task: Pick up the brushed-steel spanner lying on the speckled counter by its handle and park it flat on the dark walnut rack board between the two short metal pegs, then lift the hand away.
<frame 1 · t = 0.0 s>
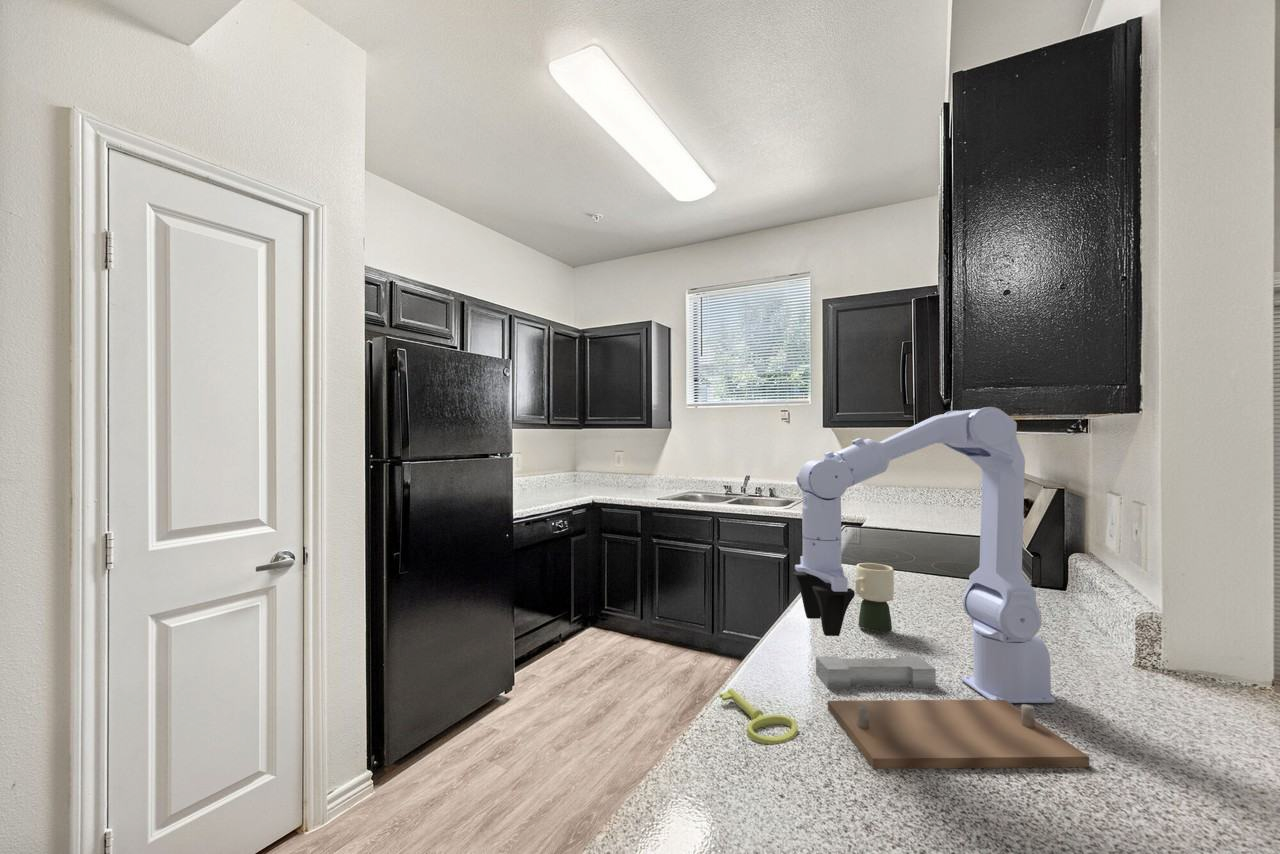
hand: (822, 626, 82), 10 cm above the worktop, tool pointing down, fingers open, 7 cm apart
character mug: (875, 631, 109), on the worktop
spanner: (874, 681, 86), on the worktop
key: (756, 725, 73), on the worktop
rack board: (946, 735, 70), on the worktop
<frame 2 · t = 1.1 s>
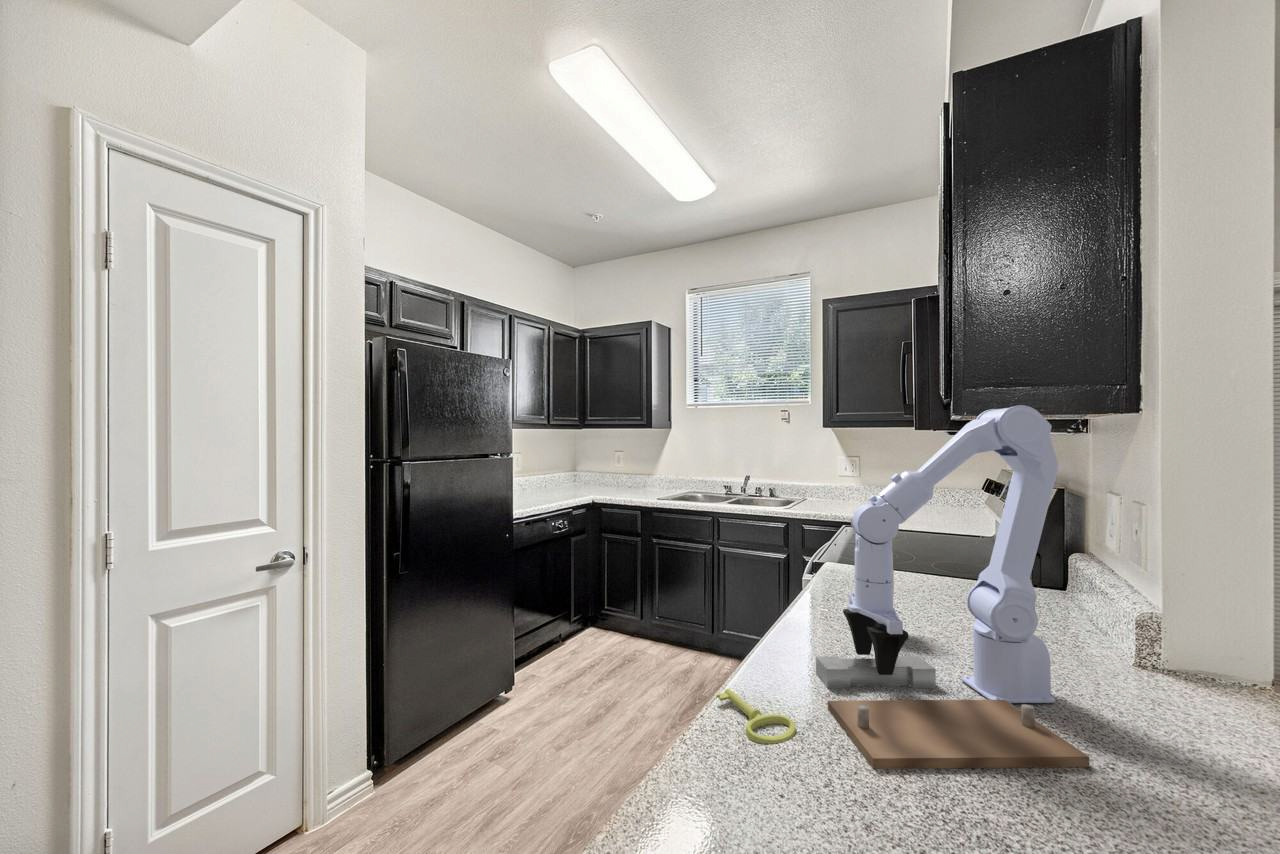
hand: (873, 663, 86), 3 cm above the worktop, tool pointing down, fingers open, 7 cm apart
nothing on the worktop moved.
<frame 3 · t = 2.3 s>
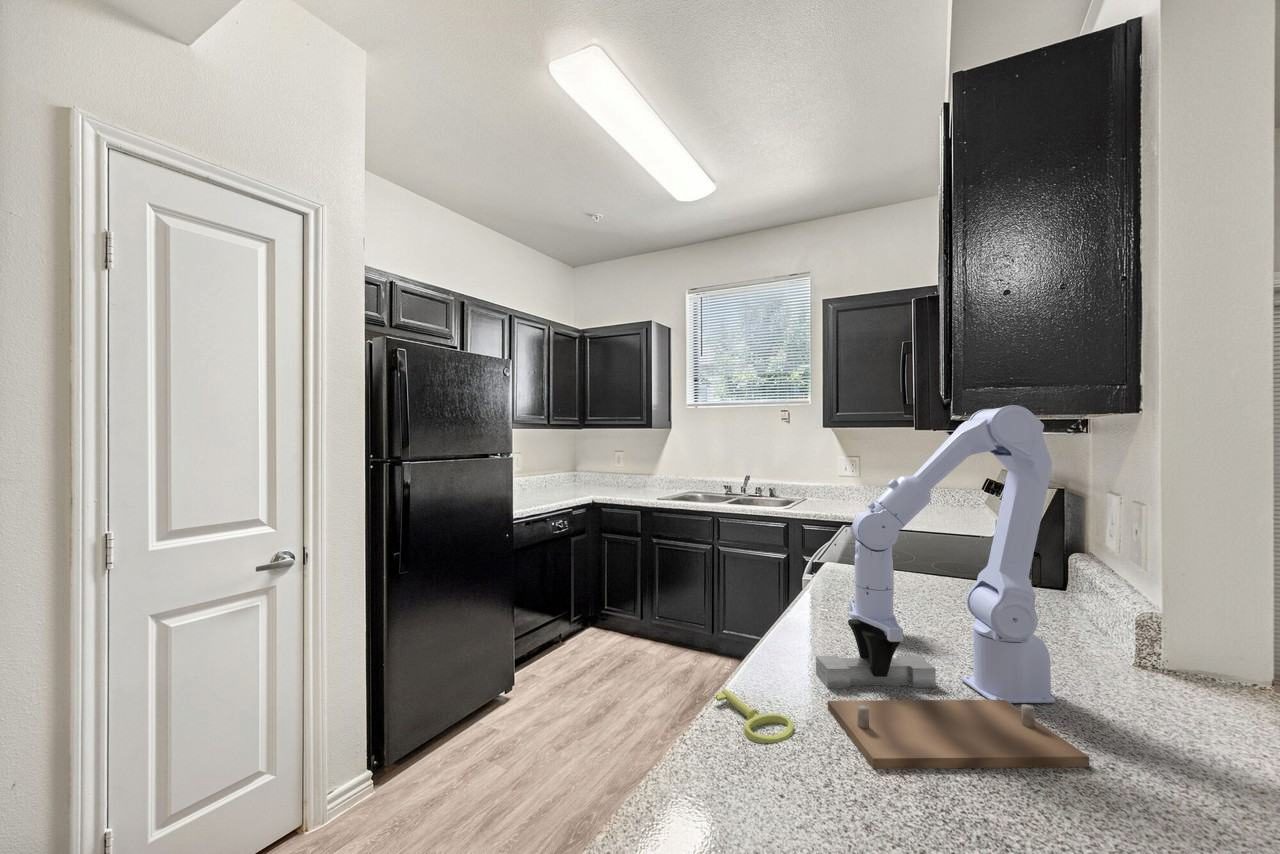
hand: (874, 670, 86), 2 cm above the worktop, tool pointing down, fingers closed on spanner, 3 cm apart
spanner: (874, 680, 86), on the worktop, touching gripper
everything else where it was.
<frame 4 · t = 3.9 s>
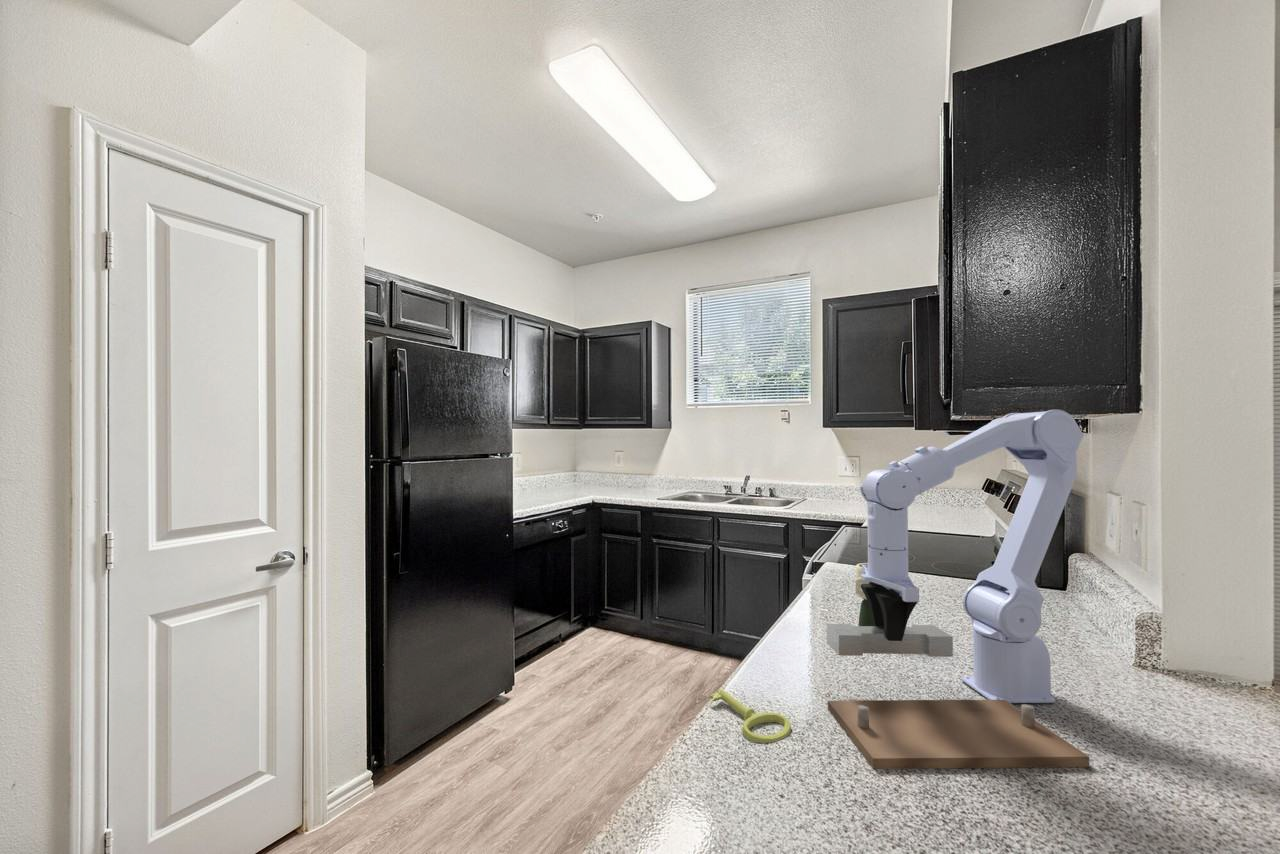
hand: (888, 635, 82), 9 cm above the worktop, tool pointing down, fingers closed on spanner, 3 cm apart
spanner: (887, 649, 82), point 6 cm above the worktop, touching gripper
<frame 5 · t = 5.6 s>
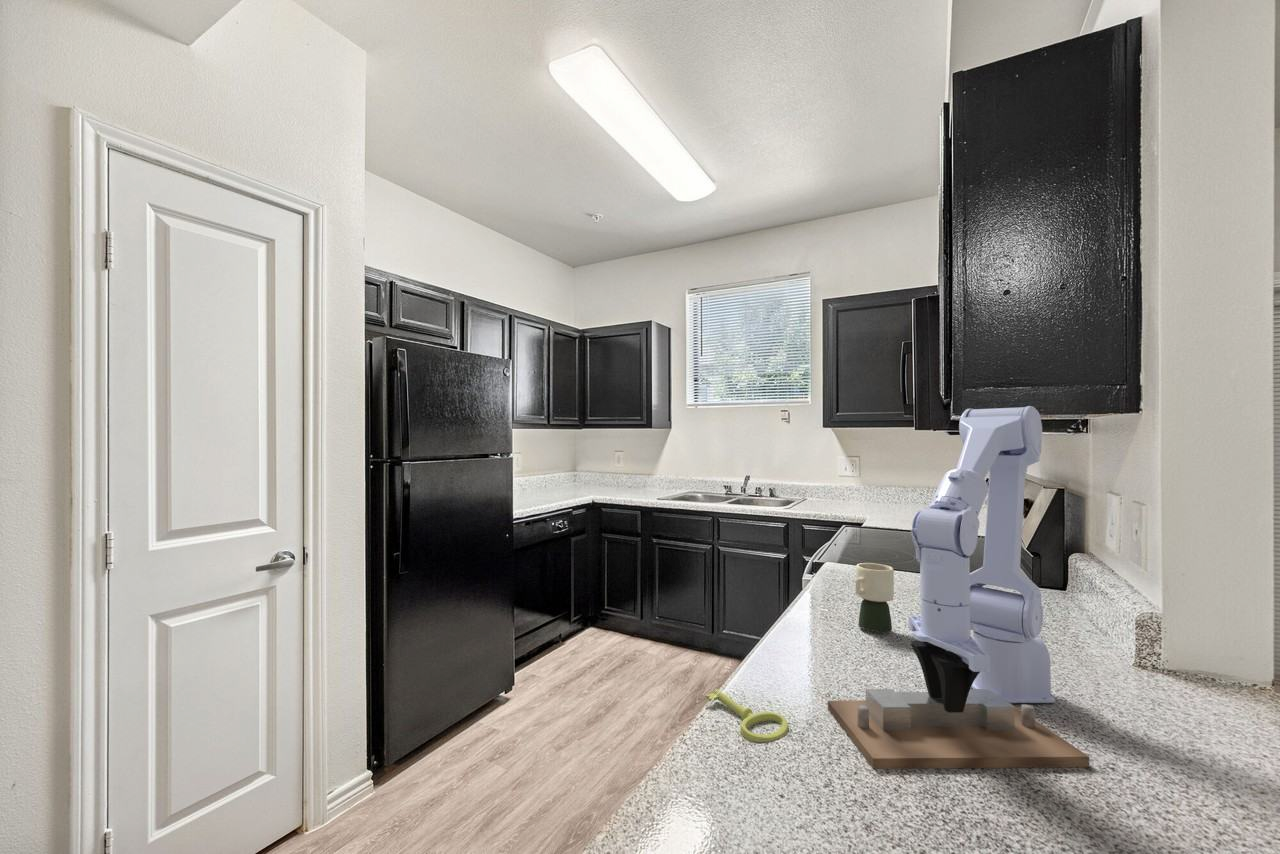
hand: (945, 704, 70), 4 cm above the worktop, tool pointing down, fingers open, 3 cm apart
spanner: (937, 720, 71), point 1 cm above the worktop, touching gripper, rack board
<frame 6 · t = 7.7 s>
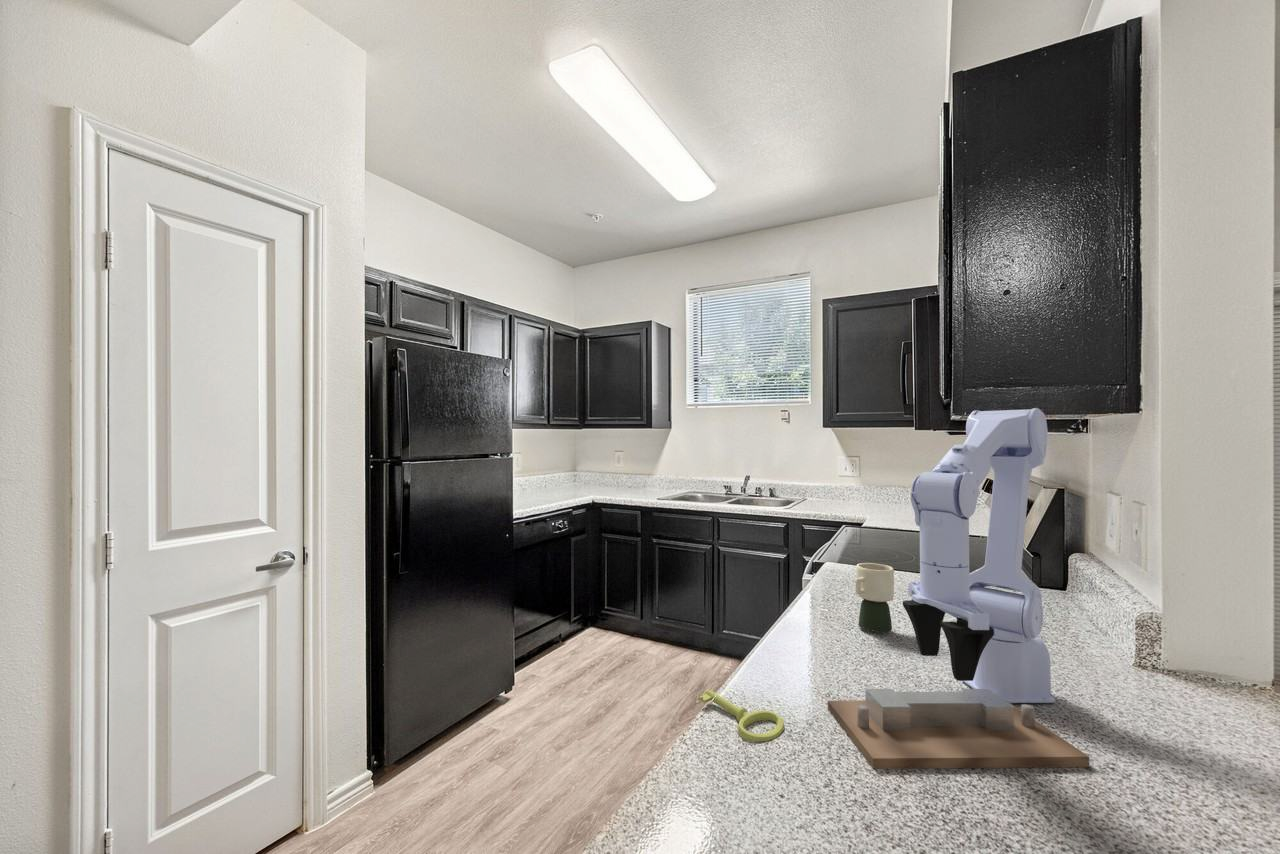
hand: (945, 666, 70), 9 cm above the worktop, tool pointing down, fingers open, 7 cm apart
spanner: (937, 720, 71), point 1 cm above the worktop, touching rack board
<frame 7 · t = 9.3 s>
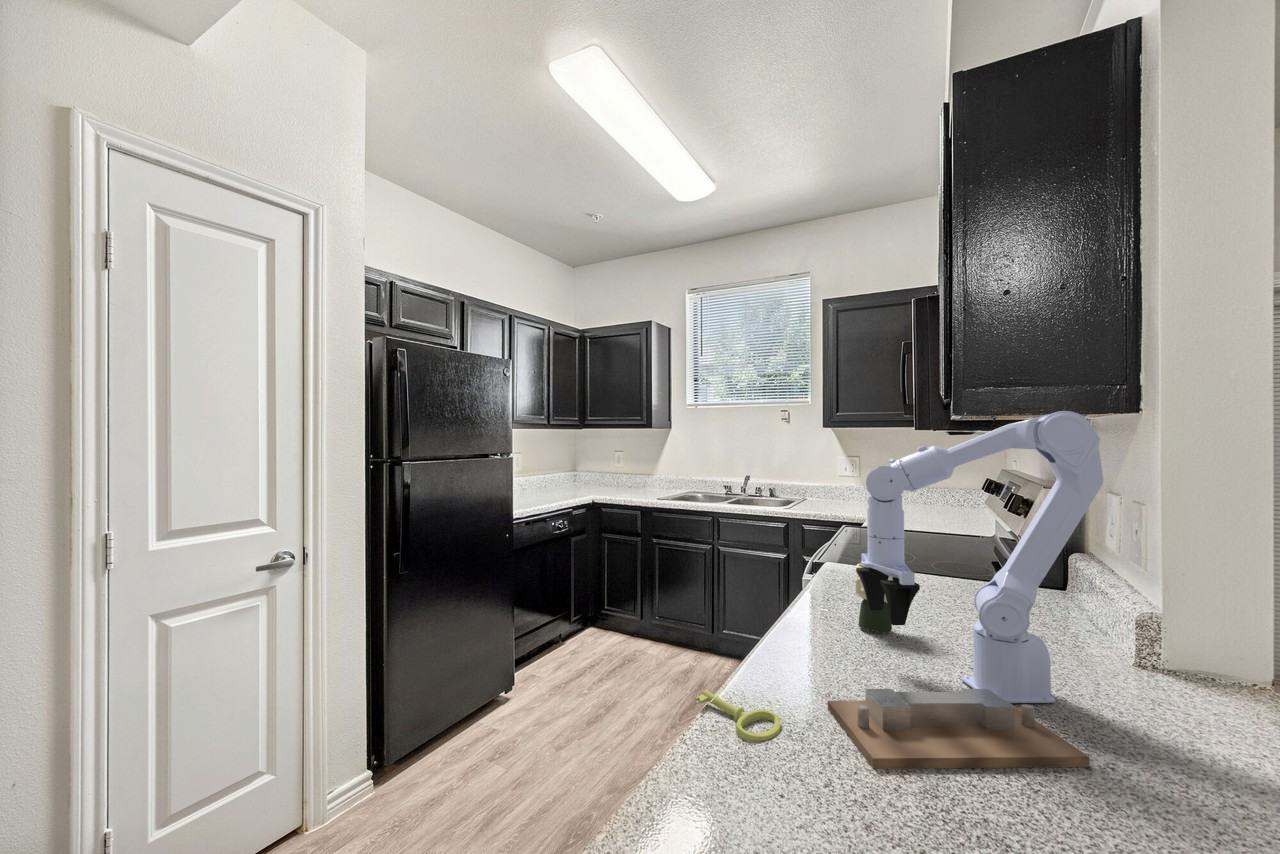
hand: (886, 616, 90), 9 cm above the worktop, tool pointing down, fingers open, 7 cm apart
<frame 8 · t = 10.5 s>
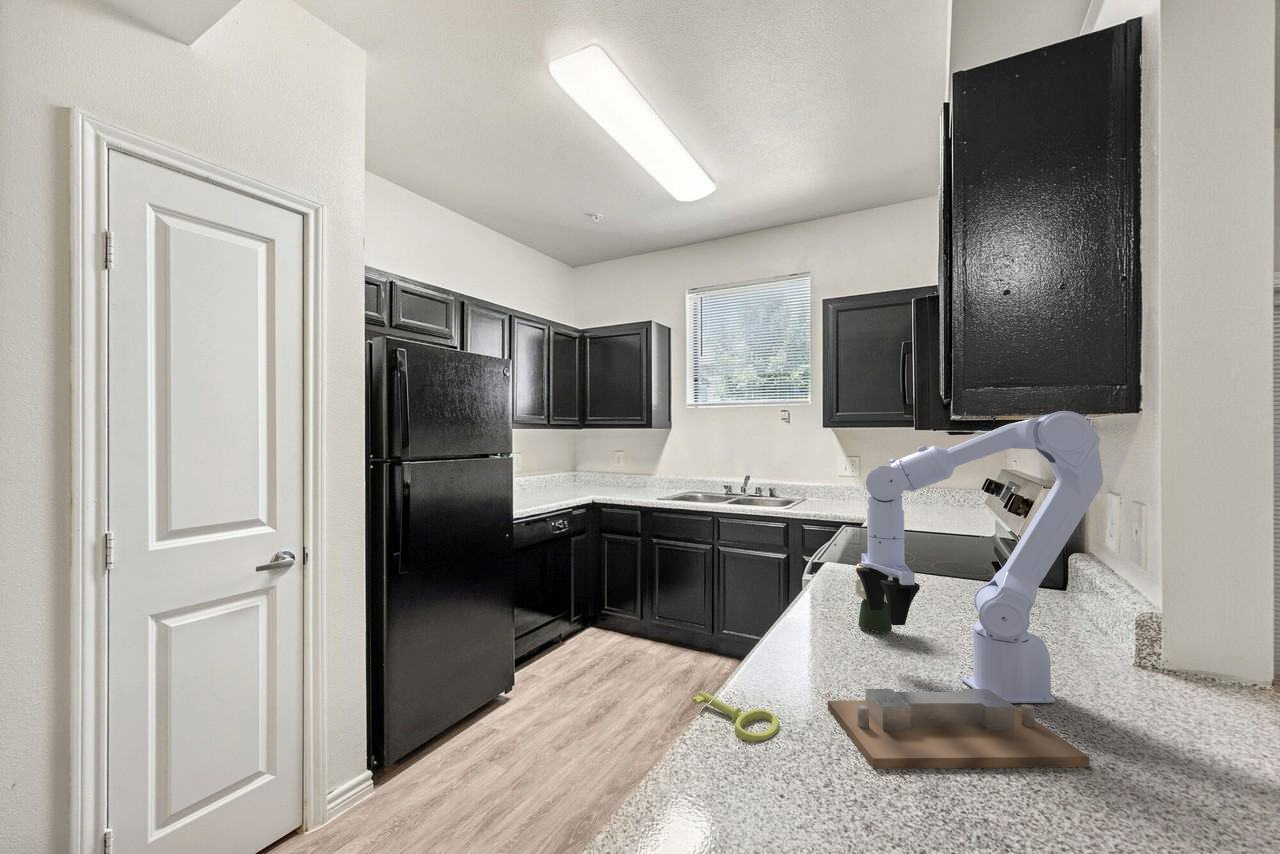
hand: (886, 616, 90), 9 cm above the worktop, tool pointing down, fingers open, 7 cm apart
at the end: spanner inside the target area on the rack board (1.5 cm from its centre), point 1.2 cm above the rack board's base; spanner tilted 0°; the gripper is holding nothing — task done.
